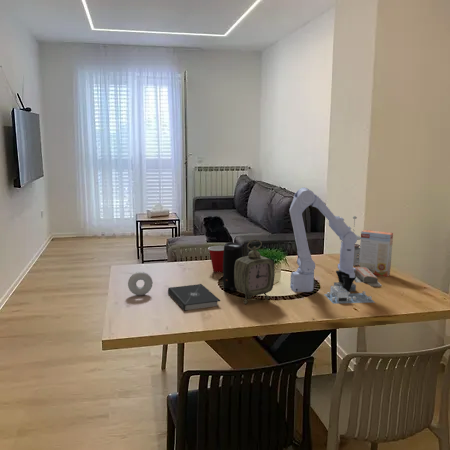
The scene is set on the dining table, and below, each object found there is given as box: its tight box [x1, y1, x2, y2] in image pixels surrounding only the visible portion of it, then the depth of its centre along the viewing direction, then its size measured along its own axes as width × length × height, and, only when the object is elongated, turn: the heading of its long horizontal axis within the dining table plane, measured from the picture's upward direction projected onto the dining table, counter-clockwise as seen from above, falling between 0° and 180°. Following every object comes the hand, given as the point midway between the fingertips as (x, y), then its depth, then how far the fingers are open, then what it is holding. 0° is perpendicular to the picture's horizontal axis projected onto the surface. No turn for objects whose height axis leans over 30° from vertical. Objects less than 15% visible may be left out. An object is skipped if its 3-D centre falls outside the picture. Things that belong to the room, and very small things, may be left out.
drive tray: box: [323, 290, 375, 305], centre depth 192 cm, size 17×11×3 cm, turn 97°
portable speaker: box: [222, 242, 244, 292], centre depth 203 cm, size 9×9×20 cm
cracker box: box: [358, 229, 394, 278], centre depth 229 cm, size 14×6×21 cm, turn 58°
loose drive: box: [333, 281, 357, 292], centre depth 202 cm, size 4×8×4 cm, turn 96°
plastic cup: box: [207, 245, 224, 273], centre depth 230 cm, size 11×11×12 cm
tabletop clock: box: [234, 238, 275, 305], centre depth 189 cm, size 14×9×25 cm, turn 122°
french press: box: [352, 215, 361, 266], centre depth 249 cm, size 10×12×25 cm
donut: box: [127, 271, 153, 296], centre depth 194 cm, size 10×4×10 cm, turn 106°
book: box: [167, 283, 221, 312], centre depth 190 cm, size 22×15×3 cm
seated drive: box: [330, 285, 350, 302], centre depth 191 cm, size 4×8×4 cm, turn 7°
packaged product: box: [353, 266, 383, 288], centre depth 219 cm, size 18×5×10 cm
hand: (344, 289), depth 202 cm, fingers closed on loose drive, 5 cm apart
